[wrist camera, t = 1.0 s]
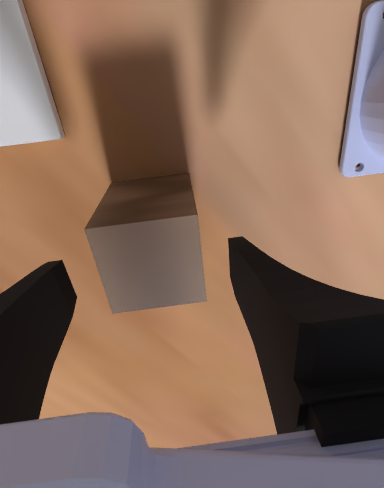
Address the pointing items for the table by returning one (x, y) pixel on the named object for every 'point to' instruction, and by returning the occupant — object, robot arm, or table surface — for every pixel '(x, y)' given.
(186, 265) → the walnut block
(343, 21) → the table surface
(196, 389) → the table surface
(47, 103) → the pad
